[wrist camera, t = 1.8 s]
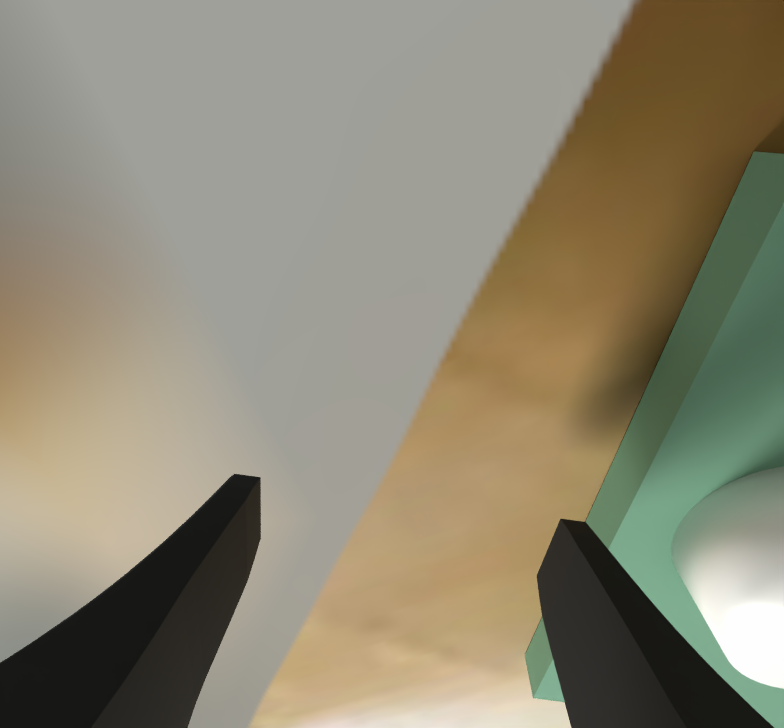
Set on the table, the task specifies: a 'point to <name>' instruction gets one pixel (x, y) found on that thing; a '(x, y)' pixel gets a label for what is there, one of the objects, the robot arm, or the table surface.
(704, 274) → the mat
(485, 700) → the table surface
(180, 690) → the robot arm
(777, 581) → the white smooth pebble
